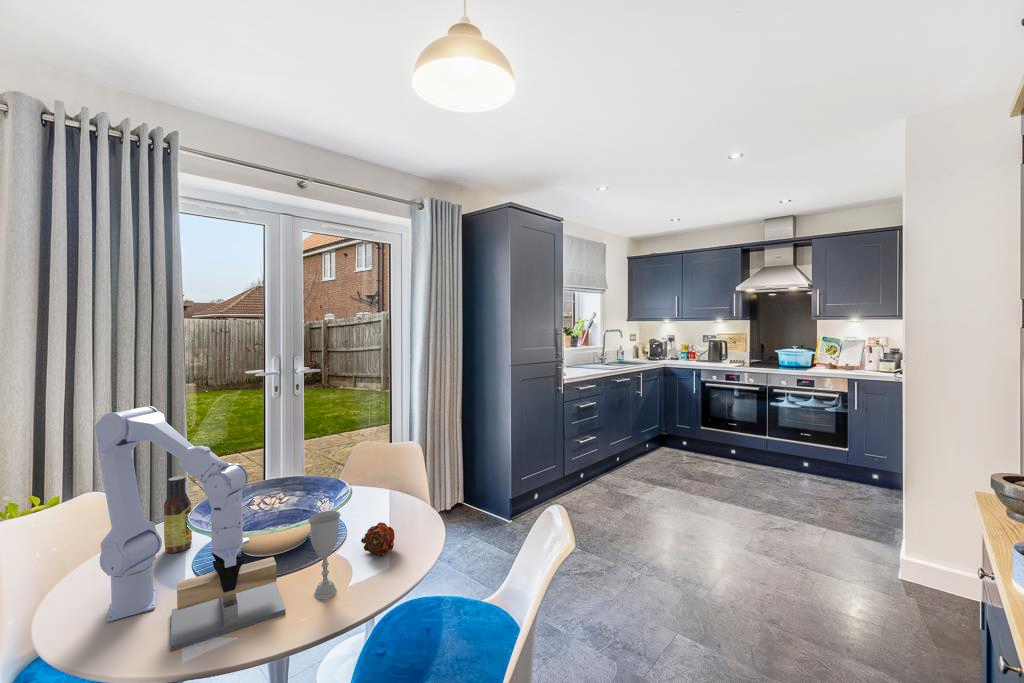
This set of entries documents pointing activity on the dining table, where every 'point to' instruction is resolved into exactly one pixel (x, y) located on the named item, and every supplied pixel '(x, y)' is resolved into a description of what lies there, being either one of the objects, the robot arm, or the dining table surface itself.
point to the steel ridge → (229, 610)
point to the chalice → (324, 547)
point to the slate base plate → (209, 617)
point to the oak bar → (211, 588)
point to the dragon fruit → (379, 539)
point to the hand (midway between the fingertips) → (228, 585)
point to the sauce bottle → (177, 516)
